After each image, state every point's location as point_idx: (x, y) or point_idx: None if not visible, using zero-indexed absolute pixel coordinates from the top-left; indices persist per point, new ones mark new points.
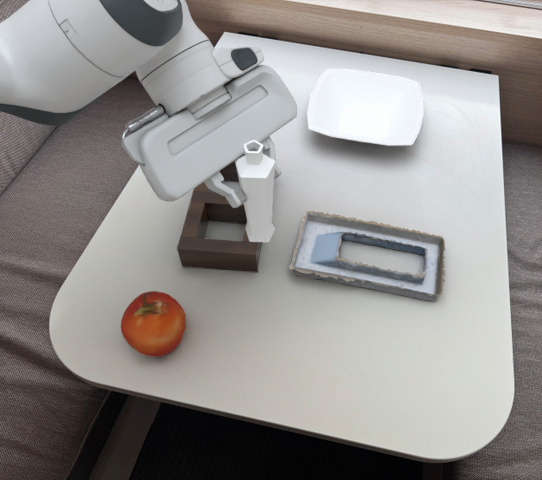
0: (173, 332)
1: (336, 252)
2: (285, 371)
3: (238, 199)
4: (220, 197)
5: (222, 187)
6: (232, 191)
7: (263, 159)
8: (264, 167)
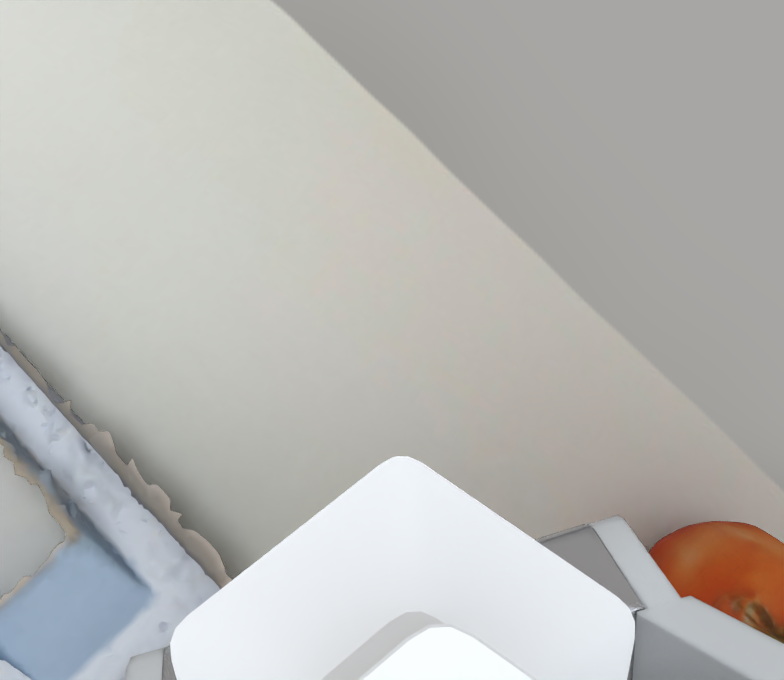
0: (706, 537)
1: (56, 559)
2: (429, 321)
3: (610, 548)
4: None
5: (774, 658)
6: (660, 611)
7: (311, 674)
8: (357, 567)
